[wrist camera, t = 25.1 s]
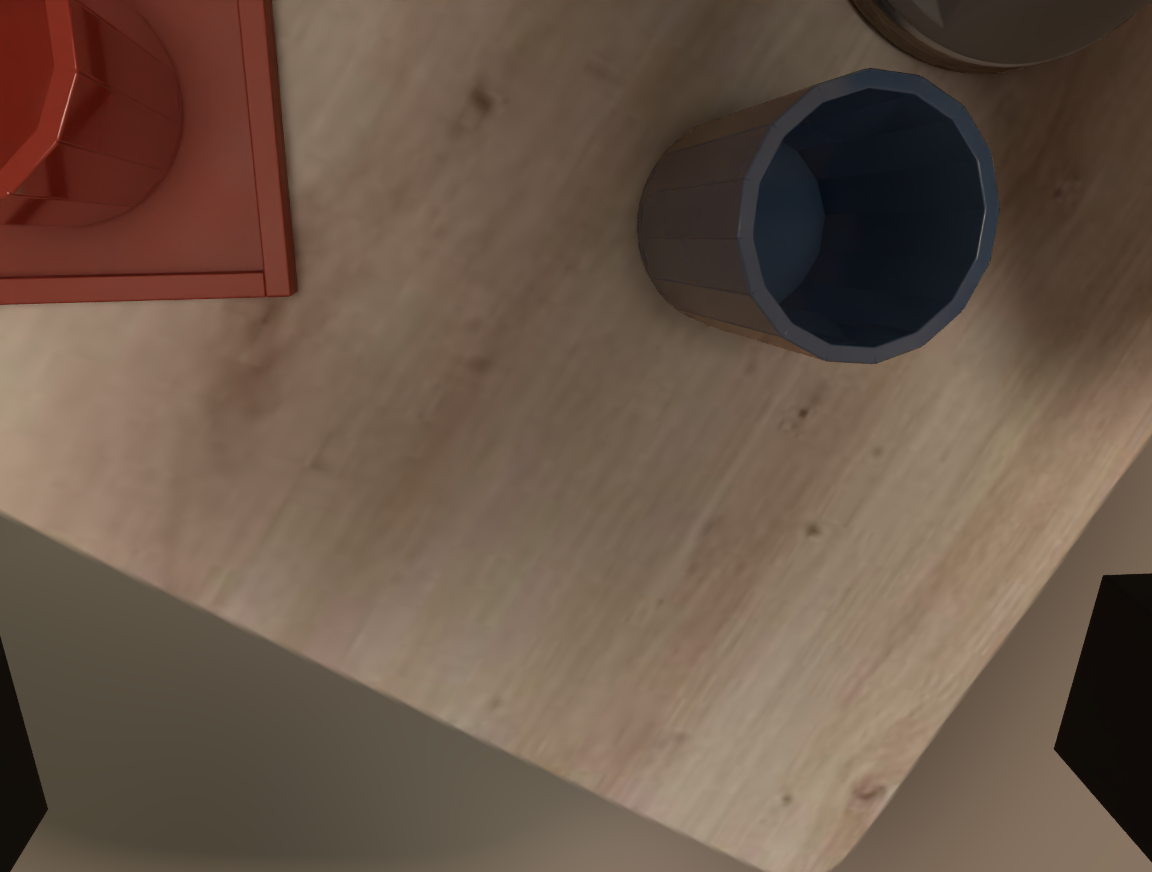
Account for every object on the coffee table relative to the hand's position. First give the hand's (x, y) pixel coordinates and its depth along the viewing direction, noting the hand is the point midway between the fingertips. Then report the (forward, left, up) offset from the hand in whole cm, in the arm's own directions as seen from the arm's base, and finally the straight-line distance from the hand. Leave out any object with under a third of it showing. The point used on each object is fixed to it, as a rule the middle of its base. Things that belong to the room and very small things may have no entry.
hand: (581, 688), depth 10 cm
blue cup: (-11, -6, -23) cm, 26 cm away
